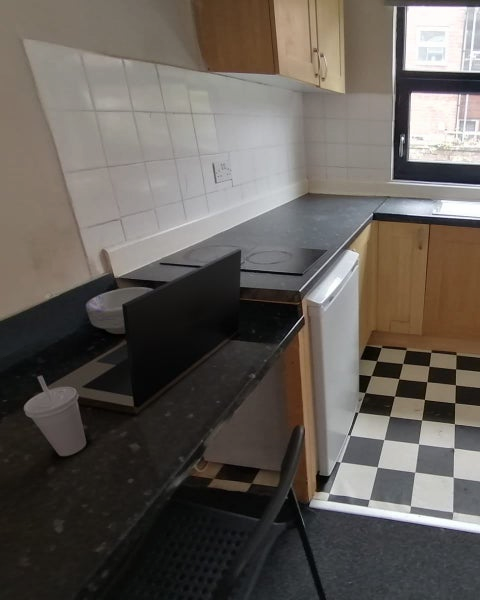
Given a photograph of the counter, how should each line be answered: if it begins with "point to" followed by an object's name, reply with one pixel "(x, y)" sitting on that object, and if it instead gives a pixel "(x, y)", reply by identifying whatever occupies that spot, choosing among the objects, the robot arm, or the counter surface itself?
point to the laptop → (113, 380)
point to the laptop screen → (180, 323)
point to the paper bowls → (112, 308)
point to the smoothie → (58, 418)
